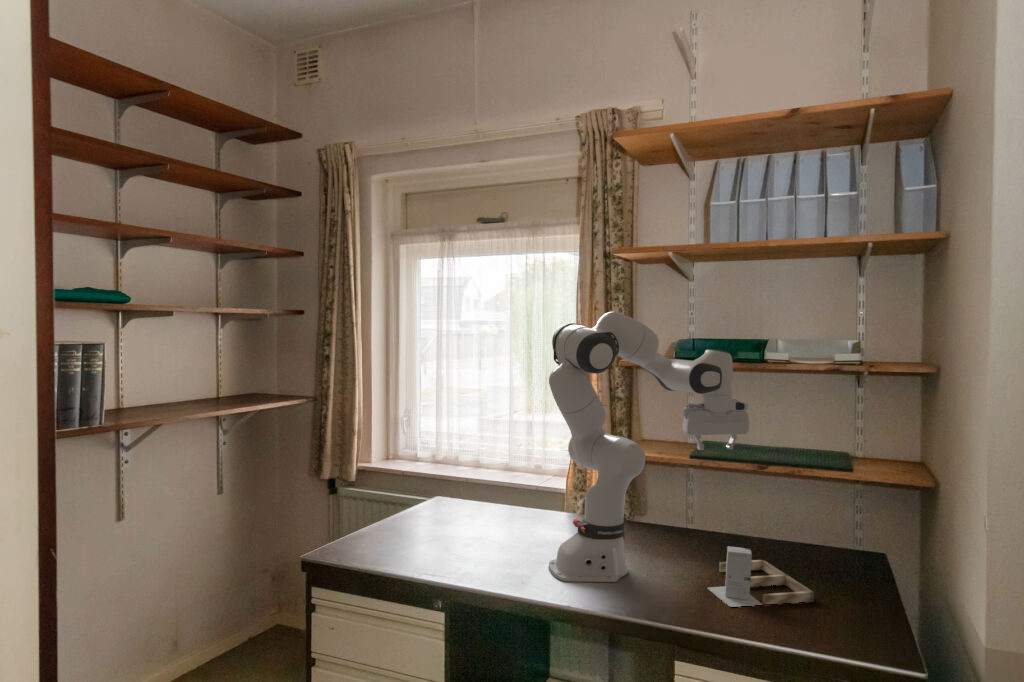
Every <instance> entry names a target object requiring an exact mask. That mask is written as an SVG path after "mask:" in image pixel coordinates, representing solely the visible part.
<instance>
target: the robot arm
mask: <svg viewBox="0 0 1024 682" xmlns="http://www.w3.org/2000/svg"><path fill="white" fill-rule="evenodd" d="M659 342H660V341H659V337H658V335H657V334H656V333H655V331H653V330H652V329H651V328H650V327H648V326H646V324H643V323H642V322H640V321H638V320H637V319H635V318H633V317H631V316H629V315H625V314H623V313H621V312H620V313H619V312H617V311H609V312H606V313H604V314H603V315H601V317H600V318H599V319H598V320H597V322H596V325H594V327H589V326H585V325H581V324H579V323H574V322H569V323H565V324H562V325H560V326H558V328H556V329H555V331H554V333H553V336H552V340H551V344H552V350H553V361H554V362H555V363H556V364H557V366H556V367H555V368H554V369H553V370H552V371H551V373H550V375H549V377H548V384H549V388H550V392H551V394H552V397H553V399H554V402H555V403H556V406H557V407H558V409H559V411H560V413H561V415H562V417H563V419H564V420H565V423H566V424H567V427H568V428H569V431H570V433H571V438H570V439H569V441H568V446H567V447H568V455H569V457H570V458H571V460H572V461H574V462H575V463H576V464H578V465H580V466H581V467H583V468H585V469H589V470H593V471H595V472H597V473H598V474H597V475H598V476H597V480H596V483H595V484H594V485H592V486H591V487H589V488H588V489H587V491H586V492H585V495H584V518H583V519H582V520H580V519H578V518H573V520H572V524H573V526H574V527H575V528H577V532H576V533H574V535H571V536H570V537H569V538H568V539H567V540H565V541H564V542H563V543H561V544H560V545H559V547H558V550H557V553H556V558H554V559H551V560H550V561H549V563H548V570H549V572H550V573H551V574H552V576H553V577H555V578H556V579H558V580H559V581H562V582H582V583H584V582H587V583H588V582H589V583H593V582H595V583H616V582H618V581H619V580H620V578H622V577H624V576H626V575H627V574H628V573H629V568H628V564H627V561H626V554H625V552H626V551H625V538H626V523H625V522H626V521H625V520H624V518H625V516H624V515H625V514H624V513H625V500H626V499H625V498H626V493H627V490H628V487H629V486H630V483H631V482H632V481H633V480H634V479H635V478H636V477H637V476H639V475H640V474H641V473H642V471H643V469H644V467H645V464H646V453H645V450H644V448H643V447H642V445H640V444H639V443H637V442H635V441H633V440H632V439H630V438H627V437H623V436H620V435H614V434H610V433H608V432H607V431H606V430H605V429H604V424H605V422H606V419H607V411H606V409H605V407H604V405H603V404H602V401H601V399H600V397H599V395H598V394H597V391H596V390H595V388H594V387H593V384H592V383H591V379H590V374H602V373H604V372H606V371H607V370H609V368H611V366H612V365H613V363H614V362H615V360H616V357H617V356H618V357H619V358H621V359H622V360H625V361H627V362H629V363H631V364H634V365H637V366H638V367H640V368H642V369H644V370H645V371H646V372H647V373H649V374H650V375H652V376H653V377H654V378H655V379H656V380H657V381H658V383H659V385H660V386H661V387H662V388H663V389H664V390H666V391H670V392H681V393H688V394H695V395H700V396H701V397H700V399H701V400H700V403H689V404H688V405H686V406H685V407H684V408H683V416H684V417H683V421H682V432H683V433H684V434H685V435H688V436H693V438H694V440H695V443H696V449H697V450H698V451H703V450H705V443H703V442H701V439H702V436H713V435H714V436H715V435H716V436H717V435H719V436H723V435H724V436H725V435H729V440H728V442H725V448H726V450H733V449H734V444H735V443H736V441H737V439H738V435H747V434H748V432H749V431H750V417H749V414H748V412H747V410H748V407H749V406H748V403H746V402H743V401H741V400H737V399H735V398H733V391H732V384H733V380H734V365H733V358H732V355H731V353H729V352H728V351H725V350H721V349H715V348H714V349H713V348H712V349H711V348H710V349H709V348H707V349H705V351H704V353H703V354H702V355H701V356H699V357H698V358H696V359H694V360H687V359H680V358H674V357H665V356H663V355H661V354H660V353H659V352H658V350H659V344H660V343H659Z"/></svg>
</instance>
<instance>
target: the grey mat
mask: <svg viewBox="0 0 1024 682" xmlns="http://www.w3.org/2000/svg"><path fill="white" fill-rule="evenodd" d="M706 590H708V591H710V592H711V593H712V594H713V595H714V596H716V597H717V598H718V599H719V600H720V601H721V600H722V601H721V602H723V603H724V604H725V605H726V604H727V605H728V607H729V606H730V607H738V608H742V607H741V606H752V607H756V606H755V605H763V602H760V601H759V600H758V599H757V598H755V597H754V596H753V595H751V594H750V597H749V600H745V599H738V598H731V597H726V596H725V585H724V586H710V587H707V588H706ZM727 605H726V606H727ZM763 606H764V605H763ZM730 607H729V608H730Z"/></svg>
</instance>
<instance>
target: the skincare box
mask: <svg viewBox="0 0 1024 682" xmlns="http://www.w3.org/2000/svg"><path fill="white" fill-rule="evenodd" d="M726 551H727V552H726V561H725V562H726V572H725V583H724V584H725V585H724V586H725V596H726V597H731V598H738V599H745V600H749V597H750V595H751V594H750V593H751V587H750V580H751V577H752V576H751V575H752V570H751V563H752V560H753V559H752V558H753V556H752V555H753V553H752V549H750V548H744V547H737V546H729V545H728V546H727V547H726Z"/></svg>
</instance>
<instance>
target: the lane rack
mask: <svg viewBox="0 0 1024 682" xmlns="http://www.w3.org/2000/svg"><path fill="white" fill-rule="evenodd" d="M718 563H719V564H718V565H719V567H718V571H719V572H720V573H726V561H720V562H718ZM751 571H764V573H766V574H768V575H755V576H754V575H753V576H751V580H750V588H759V586H762V587H773V585H776V586H786V587H788V588H789V589H790V590H791V591H790V592H789V591H788V592H774V593H763V594H762V604H778V605H784V604H783V603H791V604H800V603H799V602H805V603H814V602H815V591H813V590H811V589H810V588H808V587H807V586H805V585H803V584H802V583H800V581H797V580H796V579H794V578H793V577H791V576H790V575H788V574H787V573H785V572H783V571H782V570H780V569H778V568H777V567H776V566H774V565H773V564H771V563H769V562H768V561H766V560H764V559H756V560H755V559H752V563H751ZM771 585H772V586H771Z"/></svg>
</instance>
